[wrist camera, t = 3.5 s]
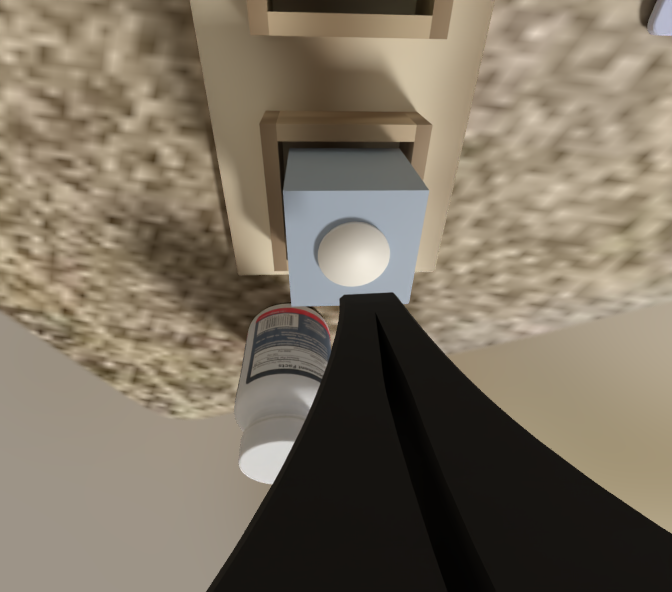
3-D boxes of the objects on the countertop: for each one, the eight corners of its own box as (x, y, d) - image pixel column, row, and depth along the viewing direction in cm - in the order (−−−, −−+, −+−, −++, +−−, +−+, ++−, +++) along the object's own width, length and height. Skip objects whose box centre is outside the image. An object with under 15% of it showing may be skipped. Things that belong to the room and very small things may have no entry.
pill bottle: (304, 369, 26) (303, 500, 19) (235, 343, 24) (205, 479, 17) (345, 320, 23) (361, 451, 16) (271, 288, 21) (253, 420, 14)
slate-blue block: (399, 148, 14) (431, 192, 11) (387, 244, 17) (409, 307, 13) (289, 147, 14) (282, 193, 10) (294, 246, 17) (291, 310, 13)
